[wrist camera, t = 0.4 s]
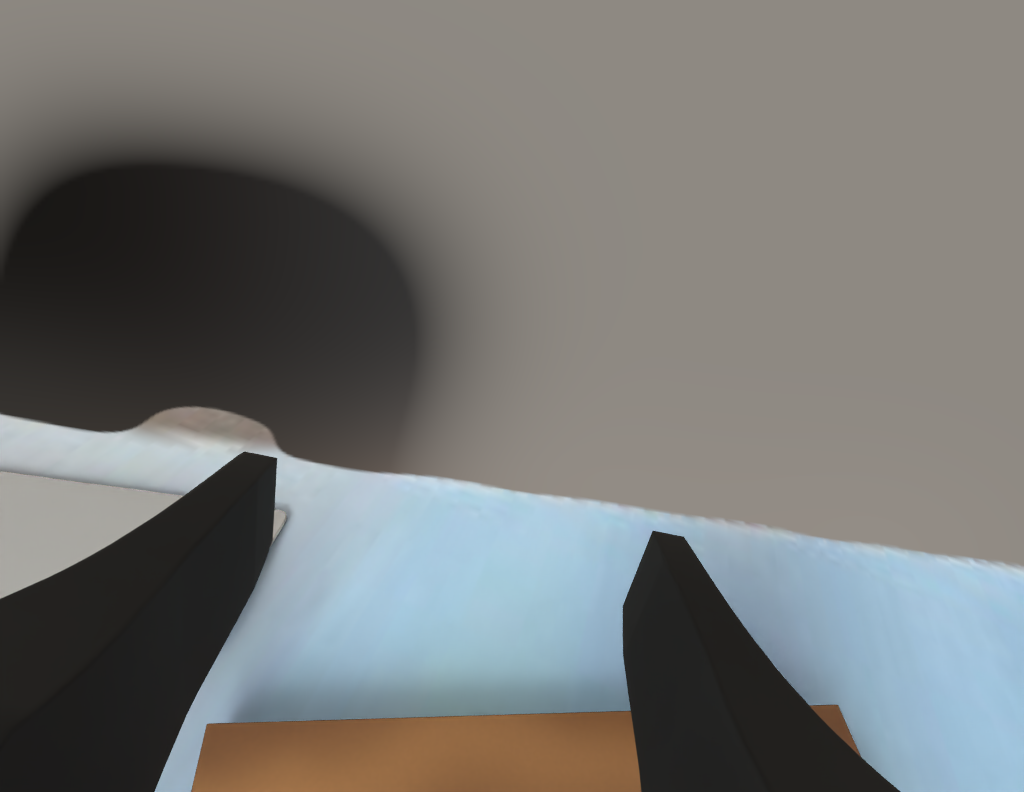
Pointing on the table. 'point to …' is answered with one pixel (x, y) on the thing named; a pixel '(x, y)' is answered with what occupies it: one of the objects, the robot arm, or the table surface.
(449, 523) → the table surface
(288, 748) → the cutting board
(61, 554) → the kitchen cleaver
